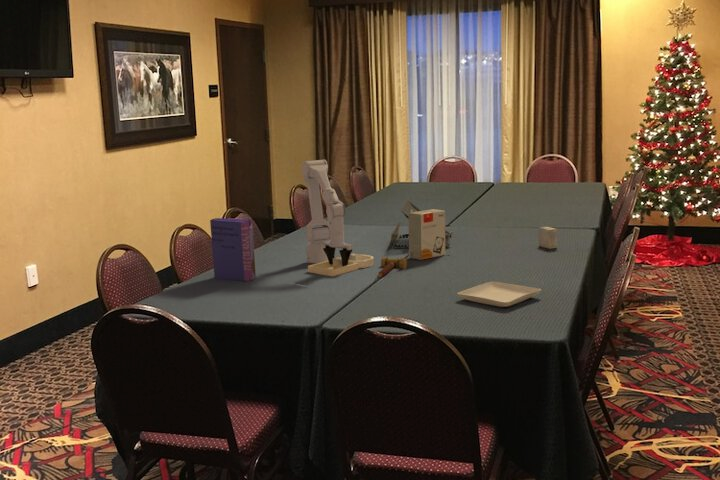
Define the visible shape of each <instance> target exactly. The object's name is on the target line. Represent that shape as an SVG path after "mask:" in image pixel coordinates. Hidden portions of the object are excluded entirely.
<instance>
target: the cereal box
mask: <svg viewBox="0 0 720 480" xmlns="http://www.w3.org/2000/svg"><path fill="white" fill-rule="evenodd" d="M209 221H210V223H209V224H210V237H211V248H212V250H211V251H212V262H213V274H214V275H213V276H214V279H221V280H230V281H231V280H232V281H240V282H247V283H248V282H252V281H255V280H256V279H257V278H256V277H257V275H256V274H257V273H256V262H255V247H254V245H255V244H254V230H253V229H254V227H253V220H251V219H239V218H238V219H235V218H222V217H221V218H220V217H218V218H212V219H210V220H209Z"/></svg>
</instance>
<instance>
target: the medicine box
mask: <svg viewBox="0 0 720 480" xmlns="http://www.w3.org/2000/svg"><path fill="white" fill-rule="evenodd" d="M538 247H541V248H545V249H550V250H552V249H553V250H554V249H557V248H558V229H557V228H553V227H550V226H542V227H539V228H538Z"/></svg>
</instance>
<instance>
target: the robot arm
mask: <svg viewBox="0 0 720 480" xmlns="http://www.w3.org/2000/svg"><path fill="white" fill-rule="evenodd" d="M301 171H302V172H301V173H302V179H303V181H305V182H306V185H307V186H306V187H307V193H308V199H309V200H308V201H309V206H310V208H309V209H310V214H311V220H310V221H309V223H308V224H306V231H305V232H306V239H307V241H308V242H307V245H306V247H305V249H306V251H305V253H306V260H305V263H306V264H307V263H311V264H317V263H321V262H325V261H329V264H330V265H332V264H333V258H335V254H336V249H340V250H339V254H340V257H341V258H342V266H347V265H348V260H349V257H350V254H351V253H352V252H353V245H352V244H350V243H347V242H345V233H344V231H345V228H344V217H345V215H346V206H345V203H343V202H342V201H341V200H340V199H339V197H338V195H337V192H336V190H335V189H334V188H332V187H331V183H330V180H329V177H328V172H329V164H328V161H327V160H326V159H318V160H317V159H316V160H303V162H302V166H301ZM320 188H321V191H322V193H321V191H320ZM321 196H322V199H323V203H324V205H325V206H326V209H325V211H326V216H327V220H325V219H324V215H323V214H324V213H323V207H322V199H321Z"/></svg>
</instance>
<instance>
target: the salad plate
mask: <svg viewBox="0 0 720 480" xmlns="http://www.w3.org/2000/svg"><path fill="white" fill-rule="evenodd" d="M541 291H542V289H541V288H537V287H531V286H525V285H519V284H511V283H505V282H501V281H500V282H499V281H489V282H486V283H481V284H479V285H475V286H473V287H470V288H467V289H465V290H461V291H459V292H457V295H458V296H459V298H461V299H463V300H465V301H469V302H473V303H479V304H483V305H487V306H494V307H499V308H506V307H511V306H513V305H516V304H520V303H522V302H524V301H527V300H528V299H530V298H533V297H535V296H537V295H538V294H539V293H540V292H541Z"/></svg>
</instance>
